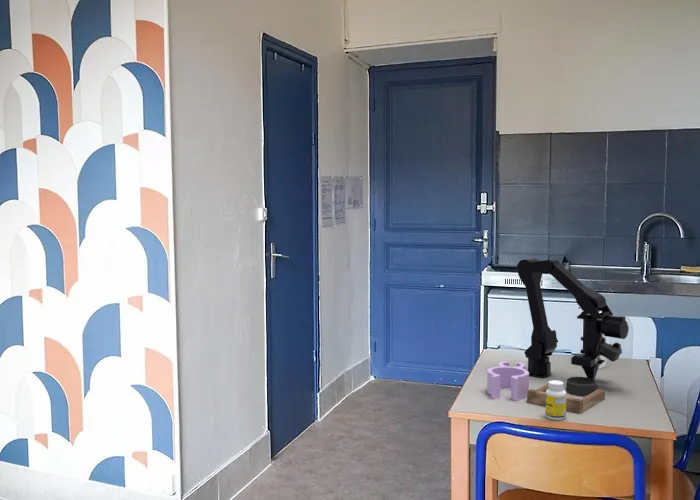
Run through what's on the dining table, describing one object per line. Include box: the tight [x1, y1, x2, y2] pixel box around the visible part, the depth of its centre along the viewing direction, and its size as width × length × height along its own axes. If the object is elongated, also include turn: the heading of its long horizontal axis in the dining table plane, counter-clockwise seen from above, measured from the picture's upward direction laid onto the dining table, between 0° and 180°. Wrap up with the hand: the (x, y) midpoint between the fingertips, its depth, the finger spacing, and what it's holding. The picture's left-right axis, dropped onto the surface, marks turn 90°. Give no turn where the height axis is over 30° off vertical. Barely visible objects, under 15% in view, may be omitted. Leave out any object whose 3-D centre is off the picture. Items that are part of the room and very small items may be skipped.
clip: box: [486, 360, 530, 402], centre depth 209 cm, size 20×12×7 cm, turn 159°
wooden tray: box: [526, 383, 606, 415], centre depth 199 cm, size 16×18×4 cm
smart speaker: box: [565, 376, 598, 397], centre depth 207 cm, size 9×9×4 cm
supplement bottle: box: [544, 379, 567, 421], centre depth 184 cm, size 5×5×10 cm
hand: (591, 382), depth 213 cm, fingers closed
